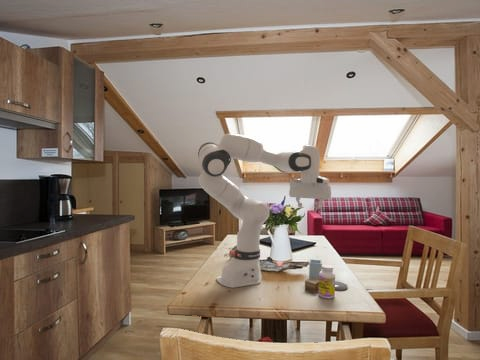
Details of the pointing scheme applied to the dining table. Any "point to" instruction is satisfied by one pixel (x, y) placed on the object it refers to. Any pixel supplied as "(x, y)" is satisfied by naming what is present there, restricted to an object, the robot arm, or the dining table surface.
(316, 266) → the blue-gray rectangular block
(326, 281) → the supplement bottle
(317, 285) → the walnut box
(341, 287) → the slate coaster
